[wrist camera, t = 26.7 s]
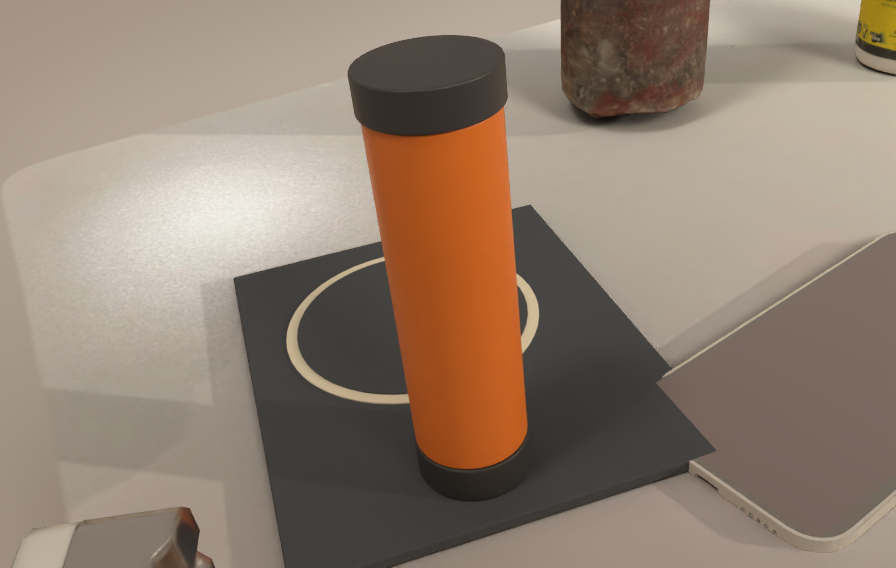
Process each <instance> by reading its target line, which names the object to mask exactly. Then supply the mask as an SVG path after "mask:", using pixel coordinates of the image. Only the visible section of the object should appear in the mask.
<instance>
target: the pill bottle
mask: <svg viewBox="0 0 896 568" xmlns="http://www.w3.org/2000/svg"><path fill="white" fill-rule="evenodd" d="M855 54H856V57H857V58H858V60H859V61H860V62H862V63H863V64H865V65H867V66H869V67H871V68H873V69H876V70H879V71H883V72H887V73H892V74H896V0H862V1H861V8H860V15H859V21H858V27H857V34H856V42H855Z"/></svg>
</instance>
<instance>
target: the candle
mask: <svg viewBox="0 0 896 568" xmlns="http://www.w3.org/2000/svg"><path fill="white" fill-rule="evenodd" d="M709 7H710V0H561V79H562V90H563V92H564V93H565V95H566V97H567V98H568V99H569V100H570V101H571V102H572V103H573V104H574V105H575V106H576V107H578V108H579V109H581V110H583V111H585V112H586V113H588V114H589V115H590V116H592V117H594V118H598V117H605V116H618V115H629V114H632V113H655V112H667V111H669V110H673V109H676V108H677V107H678V106H681V105H684V104H685V103H687V102H688V101H690V100H694V99H696V98H698V97H699V96H700V93H701V91H702V89H703V83H704V73H705V58H706V50H707V37H708V22H709Z"/></svg>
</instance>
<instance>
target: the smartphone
mask: <svg viewBox="0 0 896 568" xmlns="http://www.w3.org/2000/svg"><path fill="white" fill-rule="evenodd" d="M667 375H668V376H667ZM665 376H666V377H665ZM663 377H664V378H663ZM663 377H662V378H663V379H661V380H660V381H658V382H657V385H658V386H659V387H660V388H661V389H662V390H663V391H664V392H665V393H666V395H667V396H668V397H669V398H670V399H671V400H672V401H673V402H674V404H675V405H676V406H677V407H678V408H679V409H680V410H681V411H682V412H683V414H684V415H685V416H686V417H687V418H688V419H689V420H690V421H691V422H692V424H693V425H694V426H695V427H696V428H697V429H698V430H699V431H700V432H701V434H702V435H703V436H704V437H705V438H706V439H707V440H708V441H709V442H710V444H711V445H712V446H713V447H714V448H715V449H716V450H717V451H715V452H712V453H710V454H707V455H704V456H701V457H699V458H696V459H693V460H691V461H689V470H688V472H689V473H690V474H692V475H693V476H695V477H698V476H699V475H700V476H701V477H702V478H704V479H705V480H707V481H708V482H710V483H711V484H712V485H714V486H715V487H717V489H718V494H720V495H721V496H722V497H724V498H725V499H727V500H728V501H729V502H731V503H732V504H734V505H735V506H736V507H738V508H739V509H741V510H742V511H743V512H745V513H746V514H747V515H749V516H753V517H752V518H753V519H754V520H756V521H757V522H759V521H760V522H759V523H760V524H761V525H763V526H764V527H766V528H768V530H770V531H771V532H773V533H776V534H775V535H777V536H778V537H780V538H781V539H783V540H784V541H786V542H787V543H789V544H791V545H793V546H795V547H797V548H800V549H802V550H806V551H810V552H816V553H830V552H835V551H839V550H841V549H843V548H845V547H847V546H848V545H850V544H851V543H853V542H854V541H855V540H856V539H858V538H859V537H860V536H861V535H862V534H863V533H864V532H866V531H867V530H868V529H869V528H870V527H871V526H873V525H874V524H875V523H876V522H877V521H878V520H879V519H881V518H882V517H883V516H884V515H885V514H886V513H888V512H889V511H890V510H891V509H892V508H893V507H894V506H896V231H893V232H888V233H886V234H883V235H881V236H879V237H878V238H876V239H875V240H873V241H872V242H870V243H869V244H867V245H865V246H864V247H862V248H861V249H859V250H858V251H856V252H854V253H853V254H851V255H850V256H848V257H847V258H845V259H844V260H842V261H840V262H839V263H837V264H836V265H834V266H833V267H831V268H830V269H828V270H826V271H825V272H823V273H822V274H820V275H819V276H817V277H815V278H814V279H812V280H811V281H809V282H808V283H806V284H805V285H803V286H801V287H800V288H798V289H797V290H795V291H794V292H792V293H791V294H789V295H787V296H786V297H784V298H783V299H781V300H780V301H778V302H777V303H775V304H773V305H772V306H770V307H769V308H767V309H766V310H764V311H762V312H761V313H759V314H758V315H756V316H755V317H753V318H752V319H750V320H748V321H747V322H745V323H744V324H742V325H741V326H739V327H738V328H736V329H734V330H733V331H731V332H730V333H728V334H727V335H725V336H723V337H722V338H720V339H719V340H717V341H716V342H714V343H713V344H711V345H709V346H708V347H706V348H705V349H703V350H702V351H700V352H699V353H697V354H695V355H694V356H692V357H691V358H689V359H688V360H686V361H685V362H683V363H681V364H680V365H678V366H677V367H675V368H674V369H672V370H670V371H669V372H667V373H666V374H665V375H664V376H663Z"/></svg>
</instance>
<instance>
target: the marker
mask: <svg viewBox="0 0 896 568" xmlns="http://www.w3.org/2000/svg"><path fill="white" fill-rule="evenodd" d="M348 80H349V85H350V91H351V97H352V102H353V108H354V114H355V117H356V119H357V120H358V121H359V123H361V127H362V133H363V139H364V144H365V150H366V156H367V162H368V167H369V173H370V179H371V184H372V190H373V196H374V202H375V207H376V213H377V219H378V225H379V230H380V236H381V242H382V248H383V253H384V259H385V265H386V270H387V276H388V282H389V288H390V293H391V299H392V305H393V311H394V316H395V322H396V328H397V334H398V339H399V345H400V351H401V357H402V362H403V368H404V374H405V379H406V385H407V391H408V397H409V402H410V408H411V414H412V420H413V425H414V431H415V434H414V440H415V447H416V453H417V458H418V464H419V469H420V473H421V475H422V477H423V479H424V480H425V481H426V483H427V484H428V485H429V486H430V487H431V488H432V489H434V490H435V491H436V492H438V493H440V494H441V495H443V496H446V497H448V498H452V499H455V500H461V501H481V500H487V499H491V498H494V497H497V496H500V495H502V494H504V493H506V492H508V491H509V490H511V489H512V488H514V487H515V486H516V485H517V484H518V483H519V482H520V481H521V480H522V479H523V478H524V476H525V475H526V473H527V471H528V469H529V467H530V463H531V457H532V456H531V442H530V428H529V422H528V419H527V412H526V398H525V385H524V371H523V358H522V345H521V331H520V318H519V304H518V291H517V277H516V264H515V250H514V237H513V223H512V210H511V197H510V183H509V170H508V156H507V143H506V129H505V116H504V105H505V103H506V101H507V97H508V94H507V80H506V66H505V54H504V52H503V50H502V48H501V47H500V46H499V45H497V44H496V43H493V42H491V41H489V40H485V39H481V38H477V37H470V36H458V35H440V36H427V37H419V38H412V39H407V40H402V41H398V42H394V43H390V44H387V45H384V46H381V47H379V48H376V49H374V50H371V51H369V52H367V53H366V54H363V55H362V56H360V57H359V58H357V59H356V60H355V61H354V62H353V63H352V64H351V65H350V67H349V70H348Z"/></svg>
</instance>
